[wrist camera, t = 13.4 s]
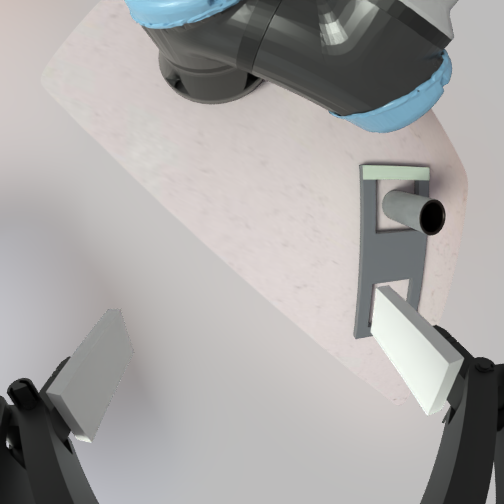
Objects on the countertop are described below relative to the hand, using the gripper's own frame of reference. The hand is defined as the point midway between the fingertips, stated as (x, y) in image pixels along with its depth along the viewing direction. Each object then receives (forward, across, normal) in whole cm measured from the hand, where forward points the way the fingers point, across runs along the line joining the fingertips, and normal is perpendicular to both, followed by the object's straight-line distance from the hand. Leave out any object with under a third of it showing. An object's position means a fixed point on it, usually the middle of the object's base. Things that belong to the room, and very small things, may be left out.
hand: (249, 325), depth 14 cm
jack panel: (+27, +23, -7) cm, 36 cm away
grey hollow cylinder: (+27, +23, +1) cm, 35 cm away
